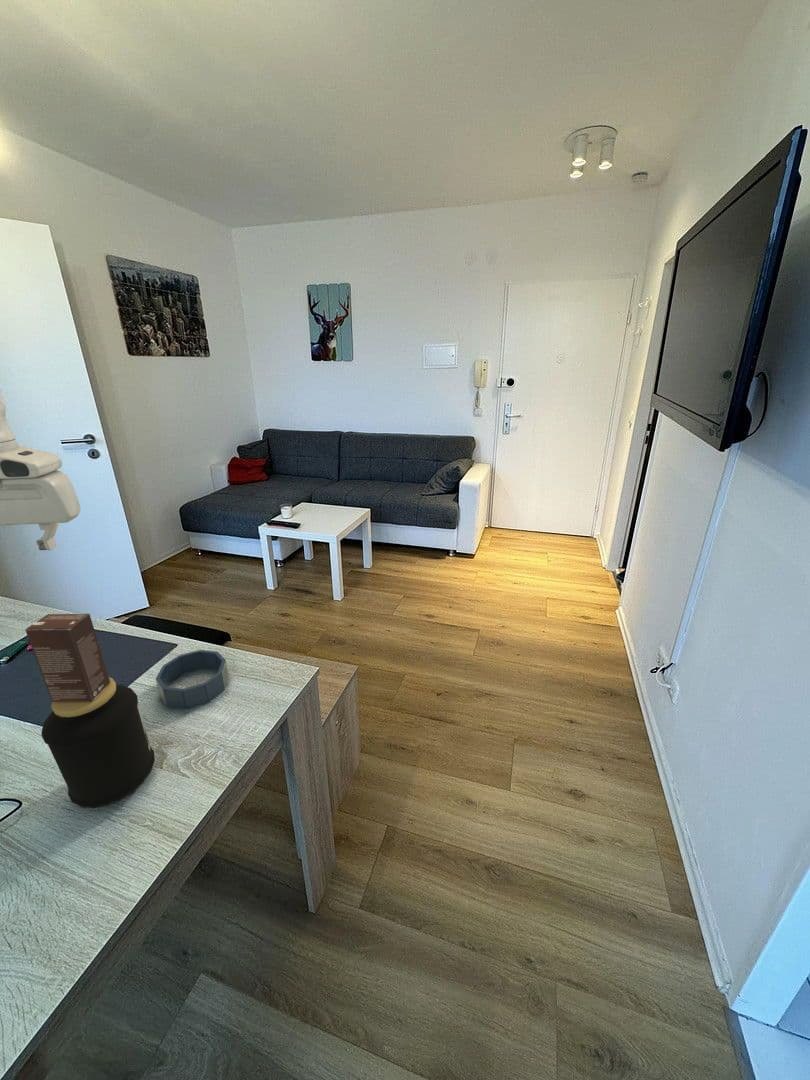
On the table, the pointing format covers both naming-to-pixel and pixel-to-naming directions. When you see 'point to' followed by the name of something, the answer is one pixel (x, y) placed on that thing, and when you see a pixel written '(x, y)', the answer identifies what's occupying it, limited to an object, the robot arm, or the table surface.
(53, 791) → the table surface
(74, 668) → the box
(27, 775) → the table surface
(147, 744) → the container
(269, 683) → the table surface
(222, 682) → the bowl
